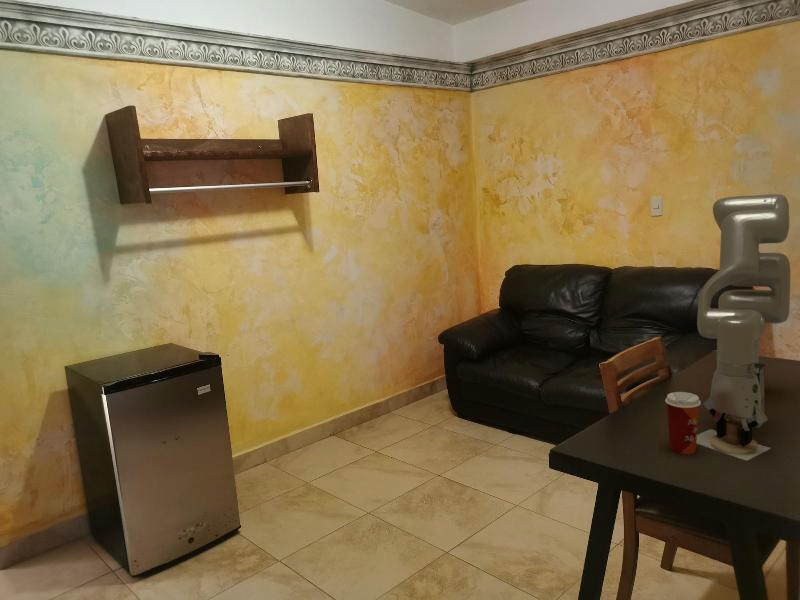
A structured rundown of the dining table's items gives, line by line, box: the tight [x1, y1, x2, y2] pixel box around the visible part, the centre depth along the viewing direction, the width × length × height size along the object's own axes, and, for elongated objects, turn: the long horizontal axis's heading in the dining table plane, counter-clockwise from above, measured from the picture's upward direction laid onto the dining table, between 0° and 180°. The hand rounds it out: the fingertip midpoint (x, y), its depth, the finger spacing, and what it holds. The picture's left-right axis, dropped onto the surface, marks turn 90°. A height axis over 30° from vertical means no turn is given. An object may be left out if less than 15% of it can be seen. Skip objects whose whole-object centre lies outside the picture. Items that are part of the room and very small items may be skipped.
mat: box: [696, 429, 772, 462], centre depth 142 cm, size 10×15×1 cm, turn 30°
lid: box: [710, 420, 759, 455], centre depth 140 cm, size 10×10×6 cm
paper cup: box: [664, 391, 702, 455], centre depth 140 cm, size 8×8×14 cm
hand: (733, 439), depth 140 cm, fingers open, 5 cm apart
